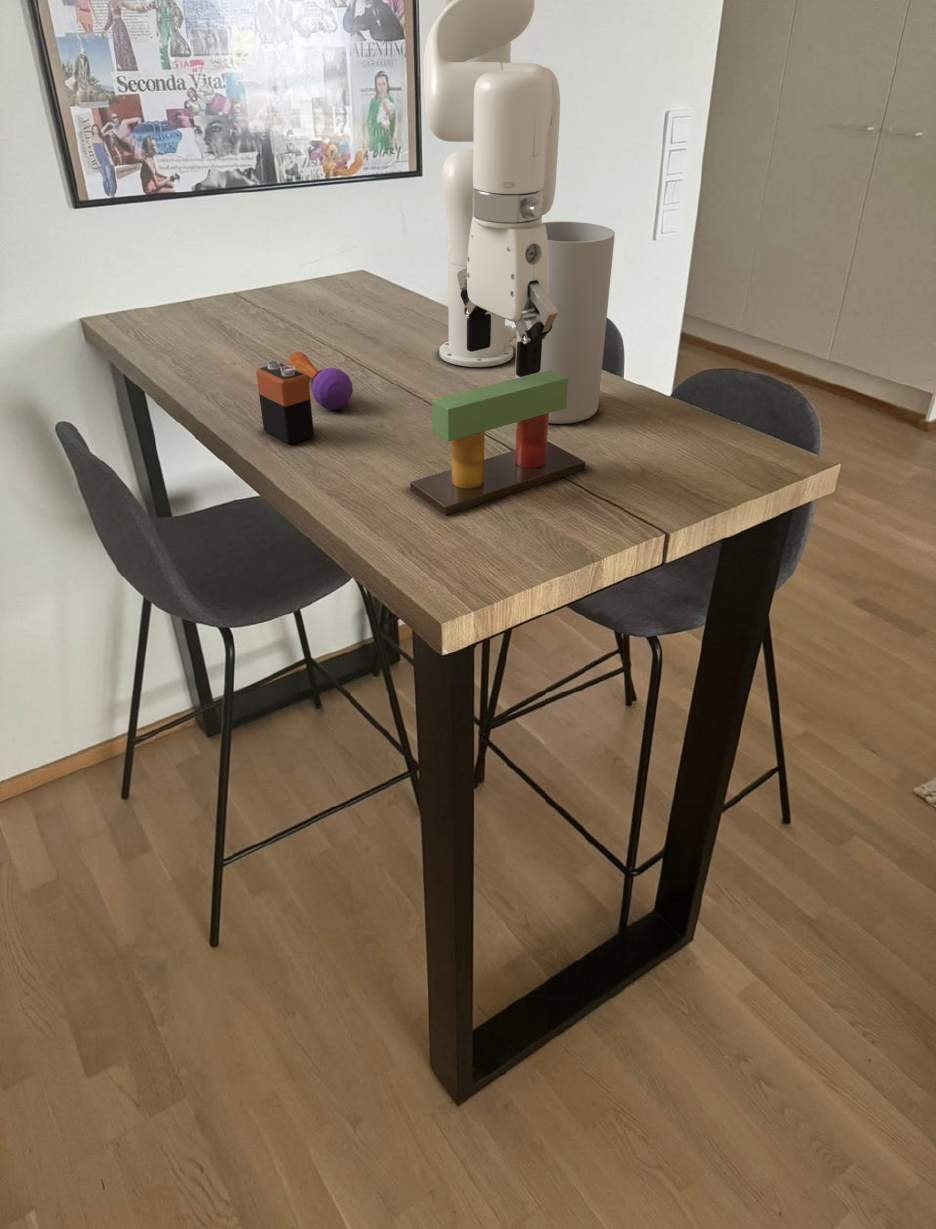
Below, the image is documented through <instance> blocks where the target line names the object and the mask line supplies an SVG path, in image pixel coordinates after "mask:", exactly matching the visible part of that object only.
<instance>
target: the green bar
mask: <svg viewBox="0 0 936 1229" xmlns="http://www.w3.org/2000/svg"><path fill="white" fill-rule="evenodd" d="M567 390H568V378H567V377H565V376H563V375H561V374H559V373H556V372H554V371H552V370H548V371H544V372H540V373H536V374H532V375H528V376H524V377H520V378H516V379H515V378H512V379H509V380H505V381H501V382H496V383H493V384H489V385H486V386H481V387H477V388H474V389H470V390H465V391H462V392H457V393H454V394H450V395H446V396H441V397H438V398H434V399H431V430H432V431H431V432H432V433H434V434H436V435H437V436H438V437H440V438H442V439H444V440H445V441H446V442H451V441H452V440H456V439H459V438H463V437H466V436H470V435H473V434H477V433H480V432H484V431H485V432H487V431H490V430H494V429H498V428H502V427H505V426H508V425H512V424H515V423H516V424H517V422H519V421H523V420H526V419H530V418H533V417H537V416H541V415H544V414H548V413H551V412H555V411H558V410H562V409H565V408H566V403H567Z"/></svg>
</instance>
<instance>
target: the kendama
mask: <svg viewBox="0 0 936 1229" xmlns="http://www.w3.org/2000/svg"><path fill="white" fill-rule="evenodd" d="M287 360H288V361H287V364H288V366H294V367H295V369H296V370H298V371H300V372H302V373H305V374H307V375H308V379H311V394H312V397H313V399H314V401H315V402H316V403H317V404H318V405H320V406H321V407H322V408H324V409H326V410H330V411H335V410H339V409H342V408H343V407H345V406H347V405H348V404H349V402H350V401H351V400H352V395H353V393H354V392H353V391H354V389H353V382H352V380H351V378H350V376H349V375H347V374H346V373H345V371H343V370H341V369H340V368H336V367H328V368H324V369H320V370H319V371H318V369H317V368H316V367H315V366H314V365H313V363H312V361H311V360H310V359H309V358H308V356H307V355H306V354H305V353H304V352H303V351H302V352H301V351H294V352H293V353H291V354H290V355H289V357H288V359H287Z"/></svg>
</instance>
